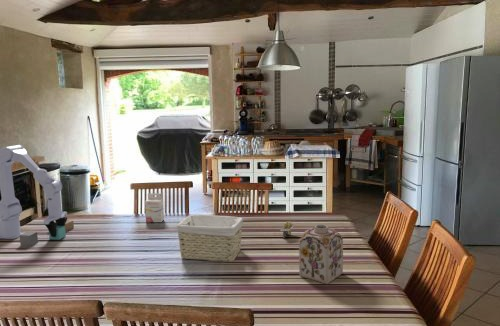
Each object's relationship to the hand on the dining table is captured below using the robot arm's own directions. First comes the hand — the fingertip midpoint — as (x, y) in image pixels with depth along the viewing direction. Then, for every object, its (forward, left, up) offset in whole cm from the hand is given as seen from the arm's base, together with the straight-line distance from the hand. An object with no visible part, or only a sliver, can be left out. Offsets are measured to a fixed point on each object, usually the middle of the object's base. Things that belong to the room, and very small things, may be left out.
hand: (57, 234), depth 194 cm
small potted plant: (+107, +14, -2) cm, 108 cm away
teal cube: (0, 0, -1) cm, 1 cm away
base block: (-6, +12, -2) cm, 14 cm away
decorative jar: (+122, -27, -2) cm, 125 cm away
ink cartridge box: (+36, +30, -2) cm, 47 cm away
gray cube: (-8, -9, -2) cm, 12 cm away
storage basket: (+78, -13, -2) cm, 79 cm away
